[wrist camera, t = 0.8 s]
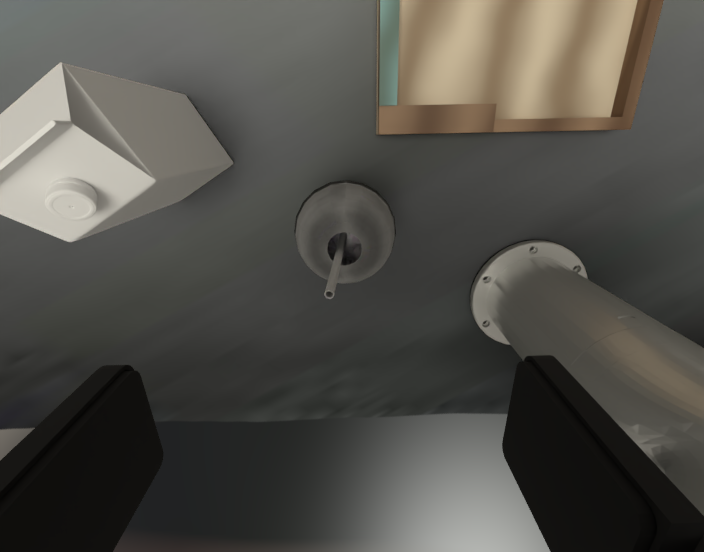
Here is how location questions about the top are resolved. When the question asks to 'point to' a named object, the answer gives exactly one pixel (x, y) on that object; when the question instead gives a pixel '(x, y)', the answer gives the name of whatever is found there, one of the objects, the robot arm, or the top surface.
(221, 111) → the top surface
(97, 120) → the milk carton
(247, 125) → the top surface
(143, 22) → the top surface
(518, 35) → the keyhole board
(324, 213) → the beverage cup
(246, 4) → the top surface
